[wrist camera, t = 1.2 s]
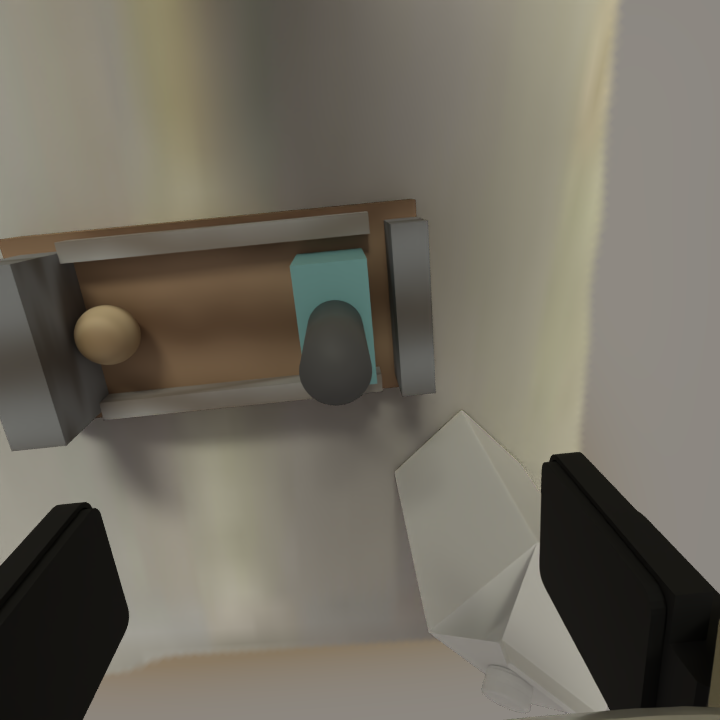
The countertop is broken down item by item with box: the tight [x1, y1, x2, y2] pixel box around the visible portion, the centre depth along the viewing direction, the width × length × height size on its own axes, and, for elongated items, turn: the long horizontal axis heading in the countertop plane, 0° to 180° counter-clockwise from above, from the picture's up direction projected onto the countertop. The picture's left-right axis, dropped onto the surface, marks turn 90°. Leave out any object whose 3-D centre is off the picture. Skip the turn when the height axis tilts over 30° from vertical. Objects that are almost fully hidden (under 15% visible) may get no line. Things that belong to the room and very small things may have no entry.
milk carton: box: [394, 410, 608, 714], centre depth 30 cm, size 7×7×19 cm
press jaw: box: [290, 248, 377, 405], centre depth 26 cm, size 7×4×12 cm, turn 5°
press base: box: [0, 199, 436, 451], centre depth 30 cm, size 12×25×8 cm, turn 95°
